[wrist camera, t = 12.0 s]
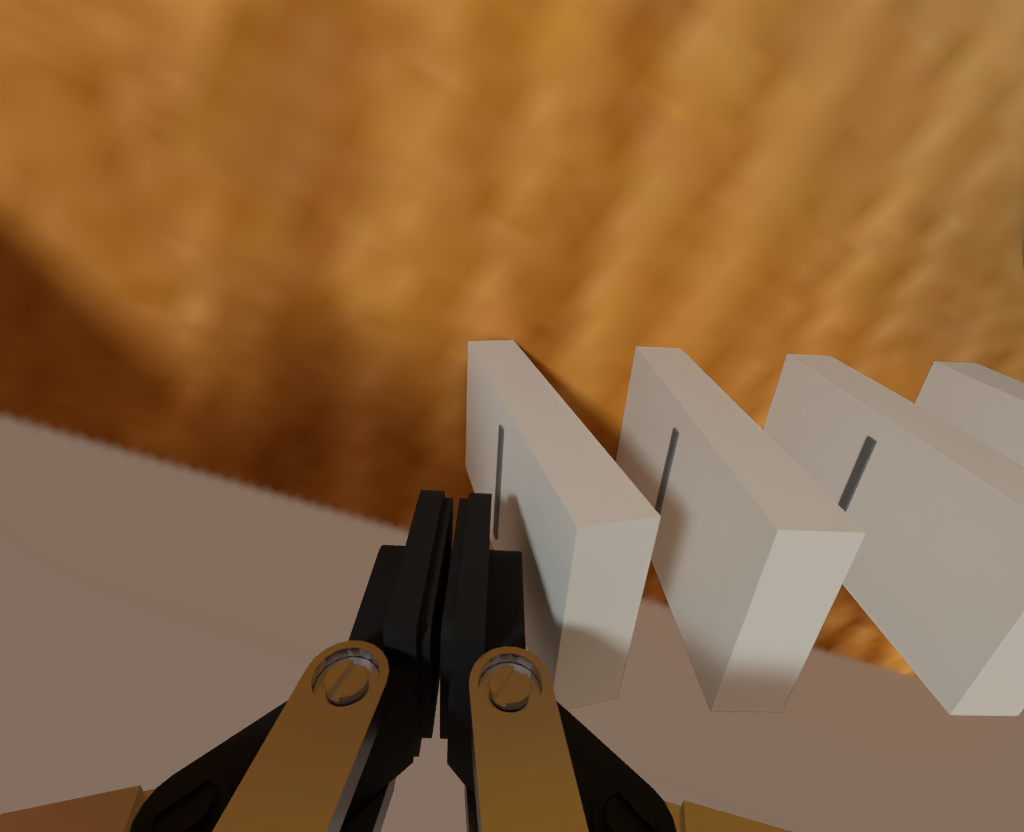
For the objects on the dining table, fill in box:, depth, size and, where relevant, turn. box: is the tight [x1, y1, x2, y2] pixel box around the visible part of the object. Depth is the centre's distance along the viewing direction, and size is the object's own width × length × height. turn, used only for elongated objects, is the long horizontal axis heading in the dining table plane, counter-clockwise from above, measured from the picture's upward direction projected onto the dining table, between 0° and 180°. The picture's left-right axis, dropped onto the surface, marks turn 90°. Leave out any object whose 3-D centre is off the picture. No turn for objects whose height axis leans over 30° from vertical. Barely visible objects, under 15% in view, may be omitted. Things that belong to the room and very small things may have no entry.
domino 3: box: [763, 354, 1024, 716], centre depth 15 cm, size 2×5×10 cm, turn 177°
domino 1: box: [465, 340, 661, 710], centre depth 14 cm, size 2×5×10 cm, turn 176°
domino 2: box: [616, 346, 866, 712], centre depth 14 cm, size 2×5×10 cm, turn 177°
